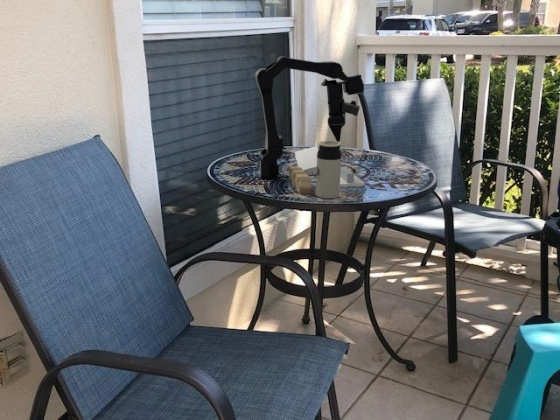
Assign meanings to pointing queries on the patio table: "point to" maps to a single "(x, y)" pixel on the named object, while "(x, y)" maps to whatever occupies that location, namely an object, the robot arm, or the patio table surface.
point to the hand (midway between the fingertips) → (338, 138)
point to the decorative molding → (307, 160)
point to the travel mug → (328, 169)
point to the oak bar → (300, 180)
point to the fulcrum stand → (349, 178)
